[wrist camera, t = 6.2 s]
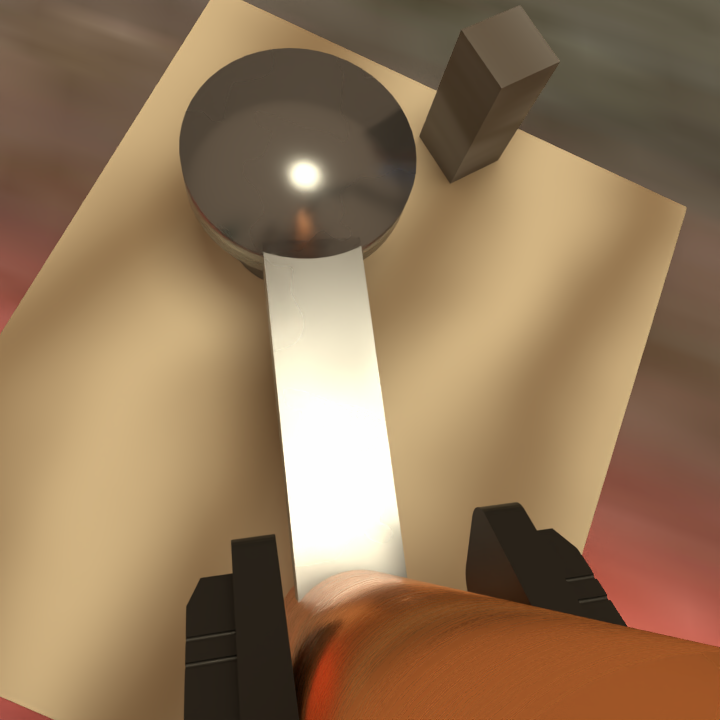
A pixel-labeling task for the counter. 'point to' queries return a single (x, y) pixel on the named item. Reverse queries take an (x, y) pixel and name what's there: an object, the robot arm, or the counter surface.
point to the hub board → (255, 373)
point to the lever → (379, 429)
